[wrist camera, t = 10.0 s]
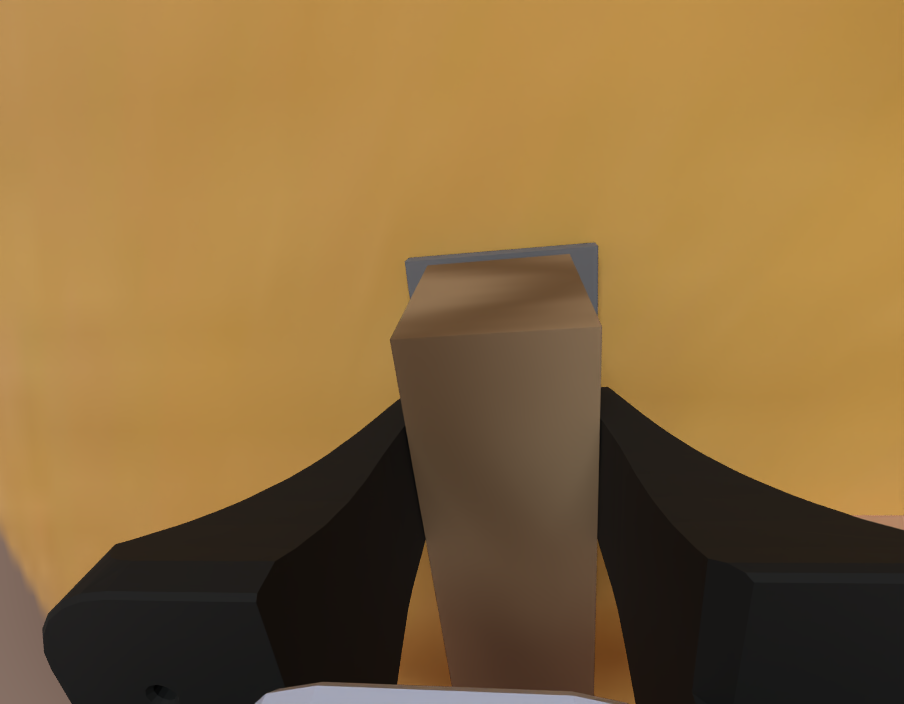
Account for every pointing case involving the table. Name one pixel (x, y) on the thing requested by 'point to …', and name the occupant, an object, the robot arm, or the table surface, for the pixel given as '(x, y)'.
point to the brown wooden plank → (507, 465)
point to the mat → (580, 254)
